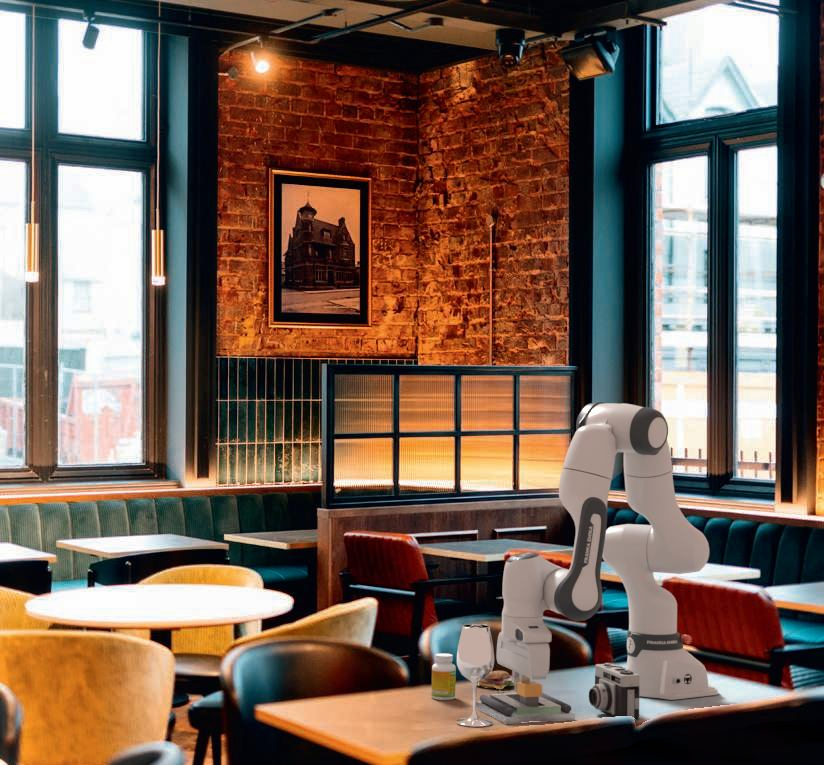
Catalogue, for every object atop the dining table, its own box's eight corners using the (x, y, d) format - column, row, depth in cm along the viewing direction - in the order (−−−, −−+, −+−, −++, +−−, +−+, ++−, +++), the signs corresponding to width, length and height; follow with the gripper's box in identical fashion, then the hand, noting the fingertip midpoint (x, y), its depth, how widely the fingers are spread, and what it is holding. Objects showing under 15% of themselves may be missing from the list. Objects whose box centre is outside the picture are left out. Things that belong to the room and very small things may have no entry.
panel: (542, 704, 293) (542, 690, 293) (575, 720, 278) (575, 705, 278) (475, 708, 288) (476, 694, 288) (505, 724, 273) (505, 709, 273)
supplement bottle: (453, 701, 295) (453, 657, 295) (429, 699, 296) (430, 656, 296) (457, 696, 300) (457, 653, 300) (433, 695, 301) (434, 652, 301)
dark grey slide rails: (541, 698, 293) (541, 690, 293) (572, 712, 278) (572, 705, 278) (478, 701, 288) (478, 694, 288) (507, 716, 273) (507, 709, 273)
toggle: (533, 705, 283) (534, 681, 283) (541, 709, 279) (542, 684, 280) (516, 706, 282) (517, 681, 282) (524, 710, 278) (524, 685, 278)
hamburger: (456, 690, 310) (456, 664, 310) (489, 682, 321) (490, 657, 321) (506, 698, 301) (506, 671, 301) (539, 689, 312) (539, 663, 313)
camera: (577, 708, 291) (578, 662, 291) (611, 706, 293) (612, 661, 293) (605, 722, 277) (606, 674, 278) (640, 720, 280) (641, 672, 280)
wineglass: (453, 718, 277) (455, 623, 277) (490, 718, 277) (491, 623, 278) (457, 727, 269) (459, 628, 270) (495, 727, 270) (497, 629, 270)
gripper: (490, 621, 294) (489, 684, 293) (527, 636, 275) (526, 703, 274) (516, 621, 296) (515, 683, 295) (555, 635, 277) (554, 701, 276)
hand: (520, 693), depth 285 cm, fingers closed
